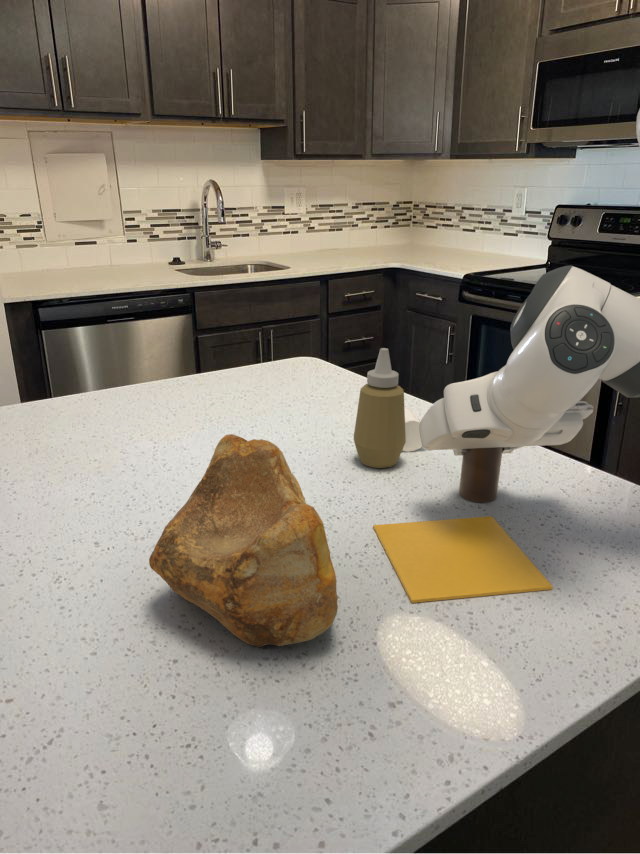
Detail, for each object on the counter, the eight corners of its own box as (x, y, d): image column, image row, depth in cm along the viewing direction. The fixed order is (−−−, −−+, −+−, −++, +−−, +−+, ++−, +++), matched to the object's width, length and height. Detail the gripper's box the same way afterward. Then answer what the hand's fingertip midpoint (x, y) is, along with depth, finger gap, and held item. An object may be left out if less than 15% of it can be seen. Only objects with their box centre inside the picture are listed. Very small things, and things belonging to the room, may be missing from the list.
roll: (405, 424, 119) (407, 395, 117) (427, 450, 108) (429, 418, 106) (372, 426, 118) (374, 396, 116) (391, 452, 107) (393, 420, 105)
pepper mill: (487, 485, 96) (498, 392, 91) (502, 501, 92) (515, 404, 86) (453, 487, 95) (462, 393, 90) (467, 504, 91) (478, 405, 86)
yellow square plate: (491, 518, 87) (491, 515, 87) (552, 589, 72) (552, 586, 72) (373, 527, 84) (373, 525, 84) (411, 603, 69) (411, 600, 69)
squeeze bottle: (360, 474, 99) (365, 357, 93) (346, 453, 106) (350, 343, 100) (411, 470, 101) (419, 355, 94) (395, 449, 108) (401, 341, 102)
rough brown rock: (145, 559, 78) (123, 445, 72) (280, 525, 83) (270, 416, 77) (180, 703, 58) (153, 562, 52) (354, 647, 63) (349, 512, 57)
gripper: (593, 380, 82) (546, 426, 94) (433, 384, 79) (406, 431, 92) (607, 426, 79) (556, 467, 92) (442, 433, 76) (413, 474, 89)
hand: (480, 449), depth 92 cm, fingers closed on pepper mill, 5 cm apart
